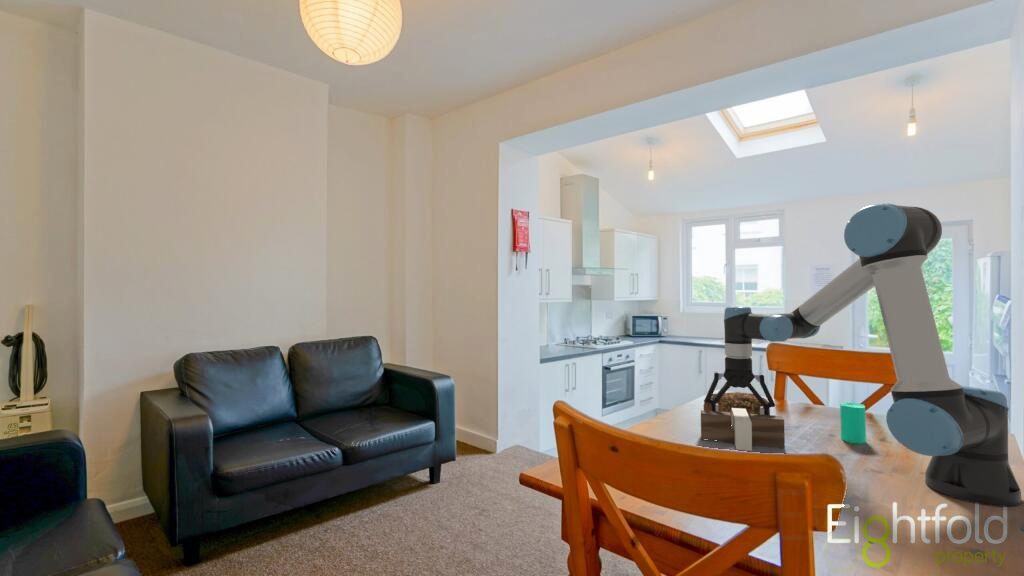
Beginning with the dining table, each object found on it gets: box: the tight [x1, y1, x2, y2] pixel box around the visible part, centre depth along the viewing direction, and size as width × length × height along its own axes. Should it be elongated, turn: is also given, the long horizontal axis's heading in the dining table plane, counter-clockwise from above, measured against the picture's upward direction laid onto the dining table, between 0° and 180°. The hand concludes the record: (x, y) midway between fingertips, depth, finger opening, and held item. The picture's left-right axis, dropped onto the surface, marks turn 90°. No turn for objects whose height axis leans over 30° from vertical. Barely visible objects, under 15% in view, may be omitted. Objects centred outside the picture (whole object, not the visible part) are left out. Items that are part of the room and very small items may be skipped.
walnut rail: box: [700, 409, 786, 449], centre depth 139 cm, size 4×22×8 cm, turn 69°
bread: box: [702, 391, 771, 425], centre depth 160 cm, size 19×11×10 cm, turn 99°
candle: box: [839, 399, 867, 445], centre depth 139 cm, size 6×6×12 cm
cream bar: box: [731, 408, 753, 452], centre depth 139 cm, size 16×4×8 cm, turn 159°
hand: (739, 427), depth 144 cm, fingers open, 12 cm apart
